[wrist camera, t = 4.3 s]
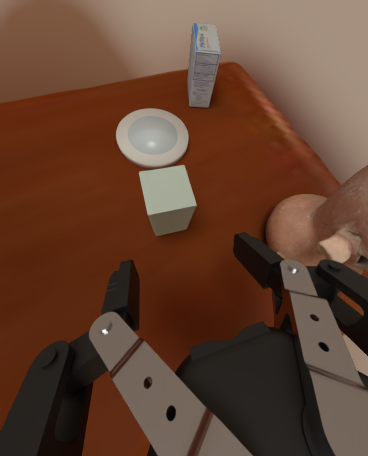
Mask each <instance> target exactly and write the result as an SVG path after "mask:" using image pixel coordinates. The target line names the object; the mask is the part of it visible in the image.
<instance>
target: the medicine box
mask: <svg viewBox="0 0 368 456" xmlns="http://www.w3.org/2000/svg"><path fill="white" fill-rule="evenodd" d="M220 56H221V50H220V44H219V39H218V33H217V28H216V26H215V25H209V24H202V23H194V24H193V27H192V36H191V47H190V58H189V68H188V81H187V83H188V95H189V106H190V107H201V108H208V107H209V104H210V100H211V95H212V91H213V87H214V82H215V78H216V74H217V69H218V65H219V61H220Z"/></svg>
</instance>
